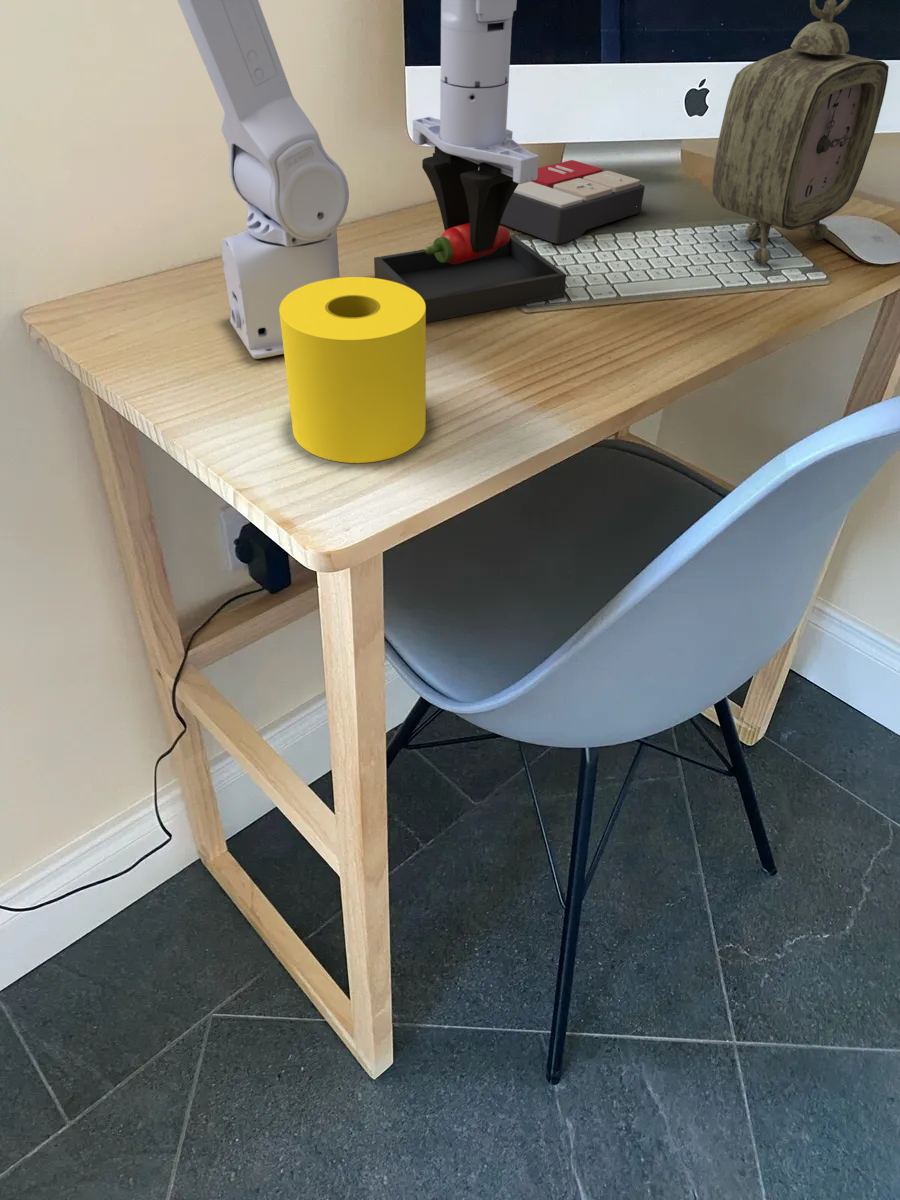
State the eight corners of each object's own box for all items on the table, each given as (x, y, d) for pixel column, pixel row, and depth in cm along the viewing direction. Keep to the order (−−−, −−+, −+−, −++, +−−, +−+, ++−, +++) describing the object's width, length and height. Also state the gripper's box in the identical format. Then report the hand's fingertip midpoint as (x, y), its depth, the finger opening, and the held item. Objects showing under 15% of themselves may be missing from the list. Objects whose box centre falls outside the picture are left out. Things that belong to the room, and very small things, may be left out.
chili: (437, 277, 82) (437, 242, 80) (415, 266, 84) (415, 231, 82) (518, 251, 87) (520, 217, 85) (495, 241, 89) (497, 208, 87)
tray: (417, 324, 82) (417, 301, 80) (374, 279, 89) (373, 257, 87) (564, 297, 87) (566, 274, 85) (512, 256, 94) (513, 234, 92)
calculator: (648, 178, 102) (563, 202, 93) (640, 218, 104) (557, 245, 96) (571, 155, 107) (484, 176, 99) (566, 194, 110) (482, 217, 101)
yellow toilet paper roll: (449, 440, 68) (452, 320, 61) (326, 477, 64) (315, 352, 57) (388, 382, 74) (385, 267, 68) (272, 412, 70) (257, 293, 64)
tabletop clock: (763, 275, 91) (838, -24, 75) (691, 248, 96) (746, -38, 80) (841, 241, 98) (926, -39, 82) (770, 217, 103) (836, -51, 87)
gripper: (570, 90, 74) (555, 257, 83) (455, 57, 82) (452, 212, 91) (506, 104, 70) (497, 276, 79) (392, 68, 78) (396, 228, 88)
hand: (469, 243), depth 85 cm, fingers closed on chili, 3 cm apart
